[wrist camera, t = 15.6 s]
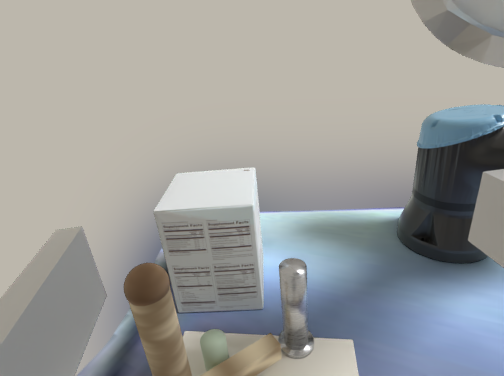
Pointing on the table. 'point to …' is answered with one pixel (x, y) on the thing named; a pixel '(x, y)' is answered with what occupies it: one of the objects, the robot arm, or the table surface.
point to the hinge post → (294, 310)
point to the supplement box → (213, 240)
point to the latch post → (214, 348)
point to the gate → (169, 333)
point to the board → (283, 356)
